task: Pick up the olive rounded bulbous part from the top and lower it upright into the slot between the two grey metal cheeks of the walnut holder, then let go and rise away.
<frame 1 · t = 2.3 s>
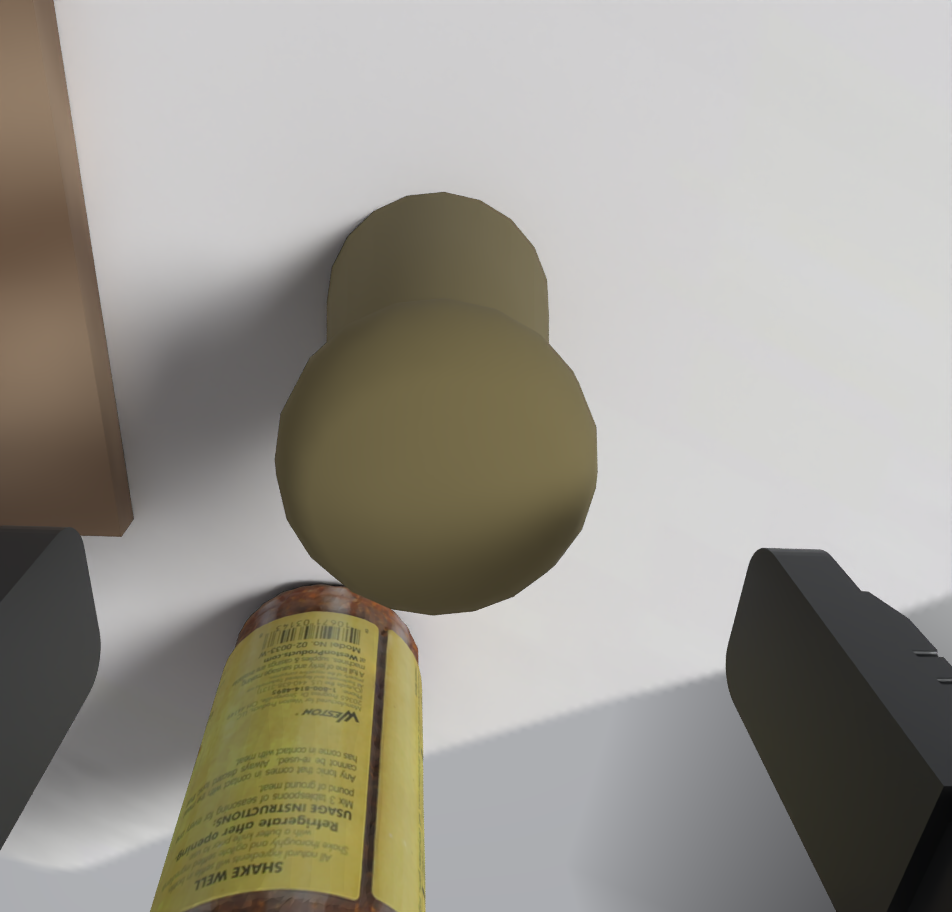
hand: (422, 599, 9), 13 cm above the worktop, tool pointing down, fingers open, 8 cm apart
sauce bottle: (336, 647, 26), on the worktop
olive rounded bulbous part: (438, 306, 21), on the worktop
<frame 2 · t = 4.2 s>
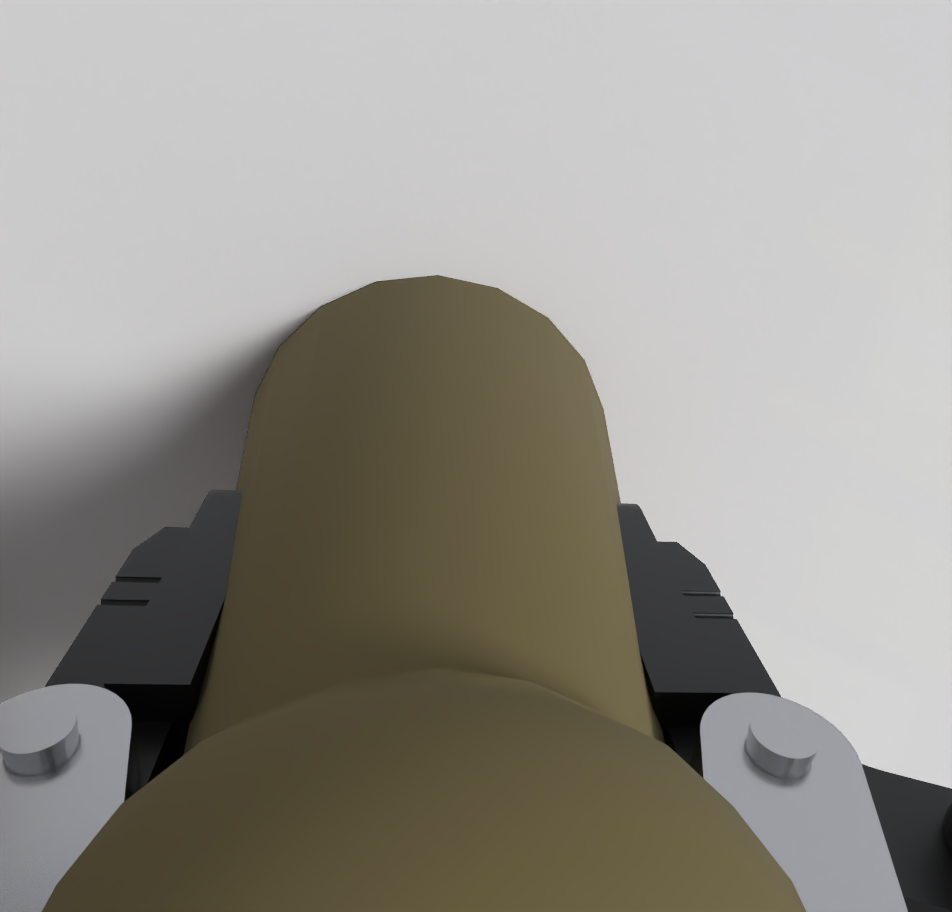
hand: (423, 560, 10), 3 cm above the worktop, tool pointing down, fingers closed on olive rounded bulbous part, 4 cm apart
olive rounded bulbous part: (429, 448, 13), on the worktop, touching gripper
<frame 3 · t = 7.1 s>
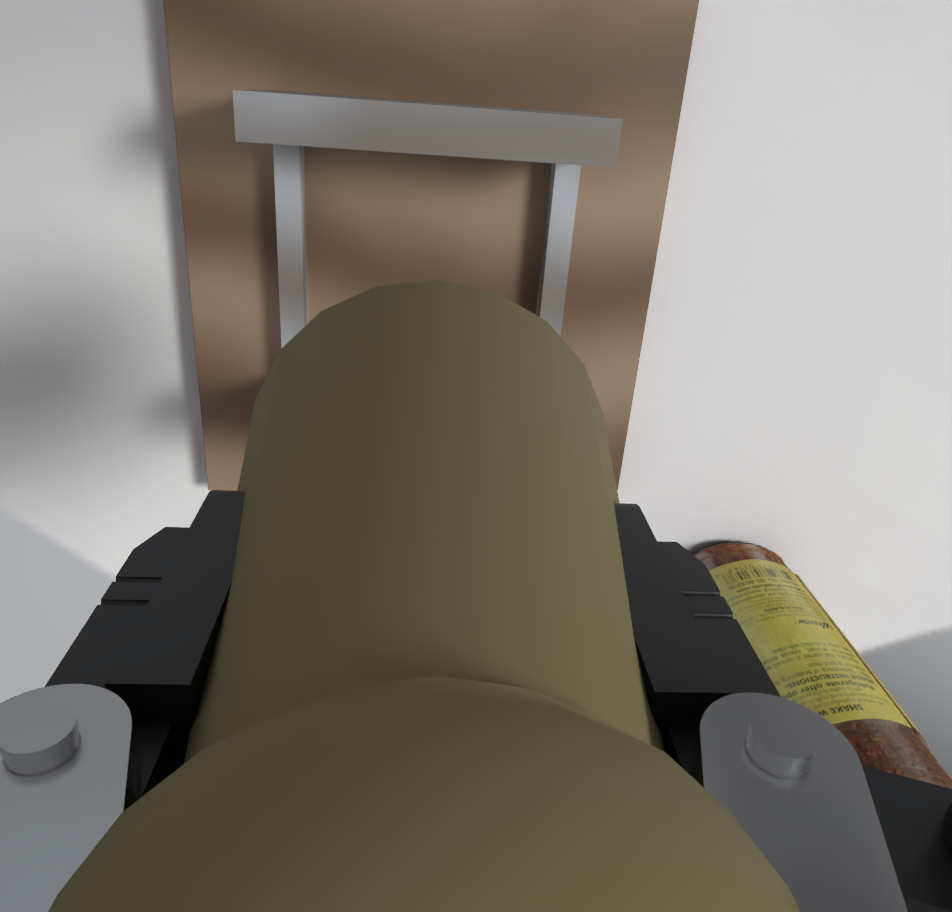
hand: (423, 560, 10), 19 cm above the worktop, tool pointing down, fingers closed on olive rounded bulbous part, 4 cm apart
shaker holder: (425, 261, 27), on the worktop
sauce bottle: (723, 592, 35), on the worktop
olive rounded bulbous part: (429, 451, 13), point 16 cm above the worktop, touching gripper
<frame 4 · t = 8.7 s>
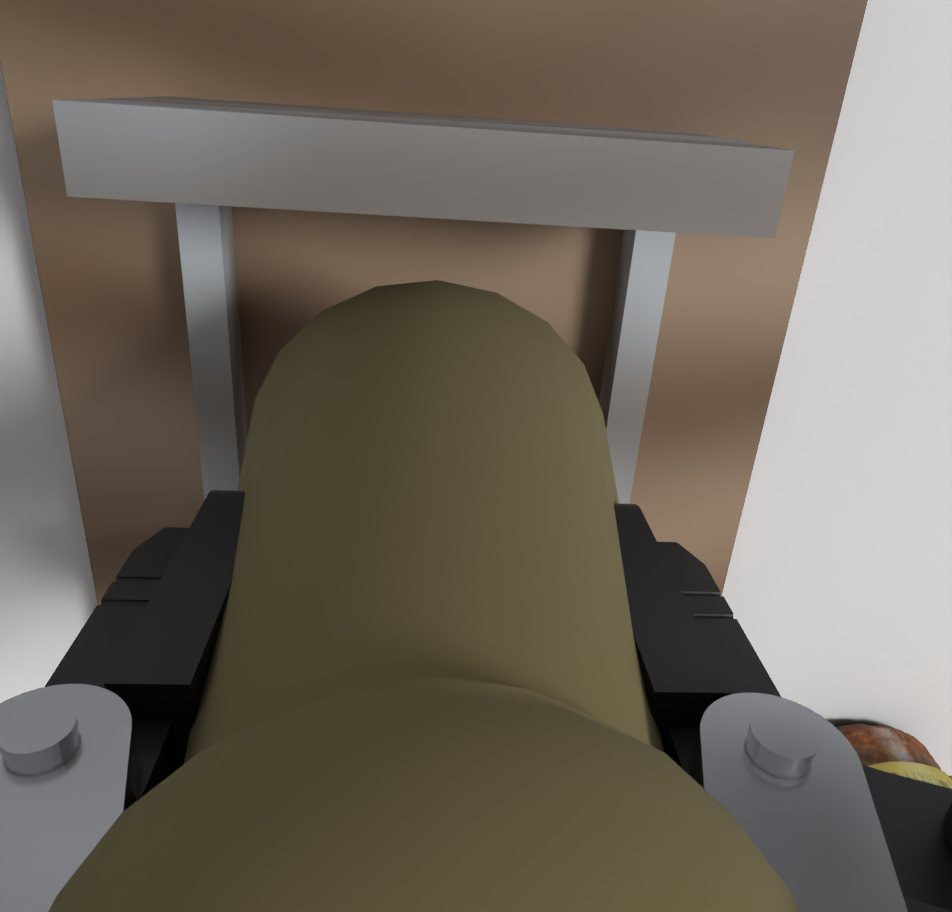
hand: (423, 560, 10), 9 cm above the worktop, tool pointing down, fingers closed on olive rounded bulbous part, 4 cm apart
shaker holder: (425, 355, 18), on the worktop
sauce bottle: (836, 780, 25), on the worktop
olive rounded bulbous part: (429, 451, 13), point 5 cm above the worktop, touching gripper
when the fingers open (6 cm above the worktop, at t = 10.1 s): olive rounded bulbous part drops 1 cm, resting on shaker holder.
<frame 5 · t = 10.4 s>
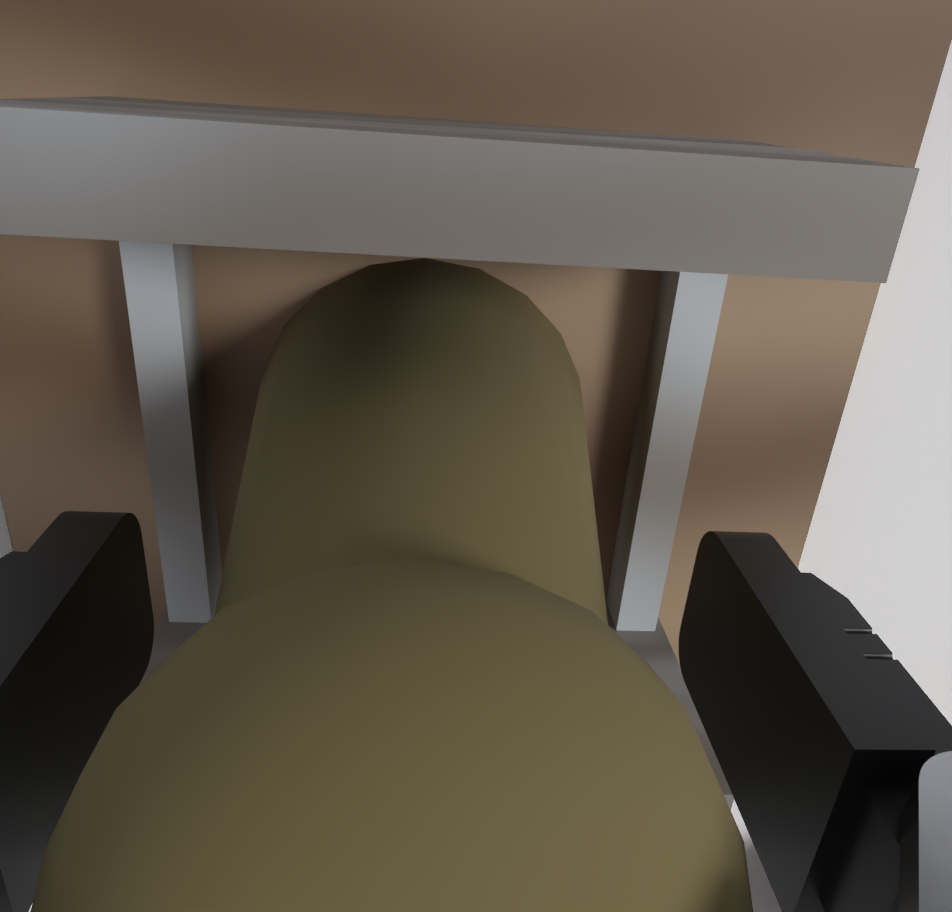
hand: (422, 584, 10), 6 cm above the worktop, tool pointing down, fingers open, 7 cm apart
shaker holder: (425, 401, 15), on the worktop
olive rounded bulbous part: (422, 417, 15), point 1 cm above the worktop, touching shaker holder
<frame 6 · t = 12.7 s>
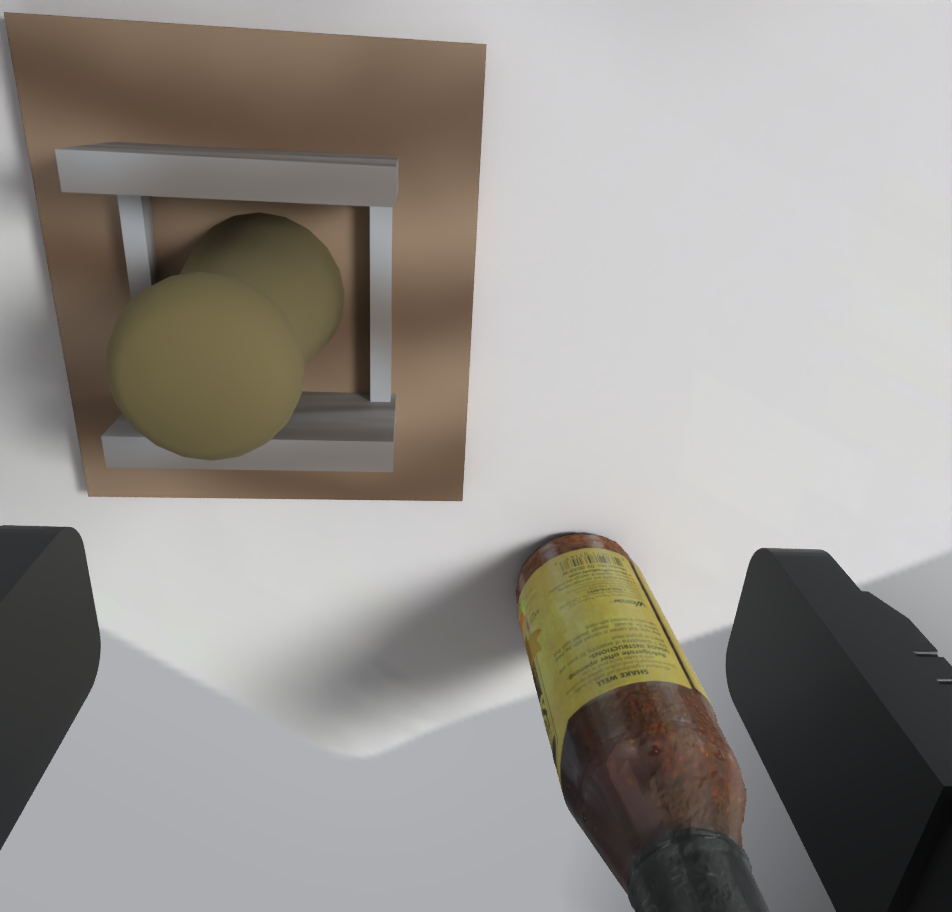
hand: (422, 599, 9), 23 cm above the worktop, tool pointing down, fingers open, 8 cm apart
shaker holder: (271, 287, 31), on the worktop
sauce bottle: (577, 580, 38), on the worktop
olive rounded bulbous part: (266, 292, 30), point 1 cm above the worktop, touching shaker holder
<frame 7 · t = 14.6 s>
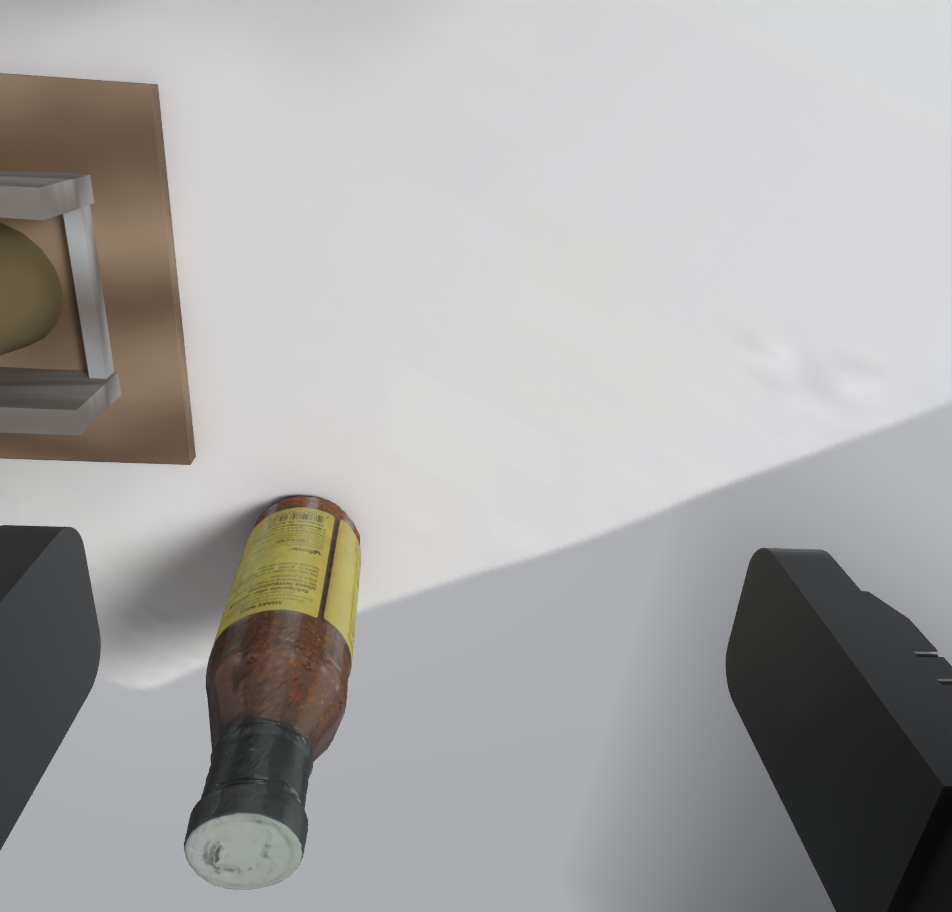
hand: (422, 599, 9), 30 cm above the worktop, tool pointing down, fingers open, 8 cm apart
shaker holder: (6, 281, 37), on the worktop
sauce bottle: (311, 537, 44), on the worktop
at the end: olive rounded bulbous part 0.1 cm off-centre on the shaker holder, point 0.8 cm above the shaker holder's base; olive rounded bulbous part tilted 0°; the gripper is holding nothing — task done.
